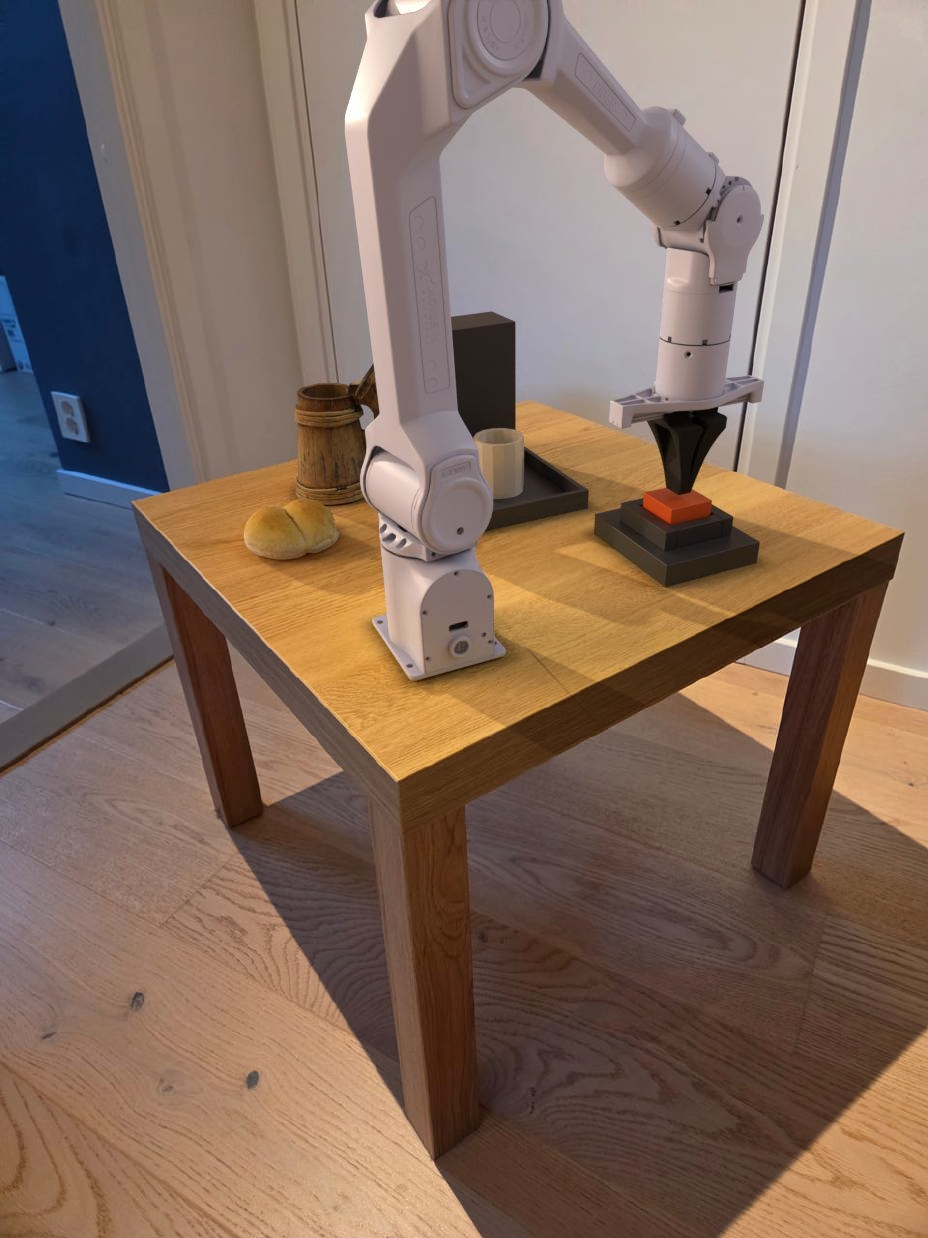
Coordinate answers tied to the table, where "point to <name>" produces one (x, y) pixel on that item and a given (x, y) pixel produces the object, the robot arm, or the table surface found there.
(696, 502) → the button
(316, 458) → the wooden mug
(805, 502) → the table surface
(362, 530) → the table surface
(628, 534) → the control block
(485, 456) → the cream cup
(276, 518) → the bread roll
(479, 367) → the block
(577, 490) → the tray
